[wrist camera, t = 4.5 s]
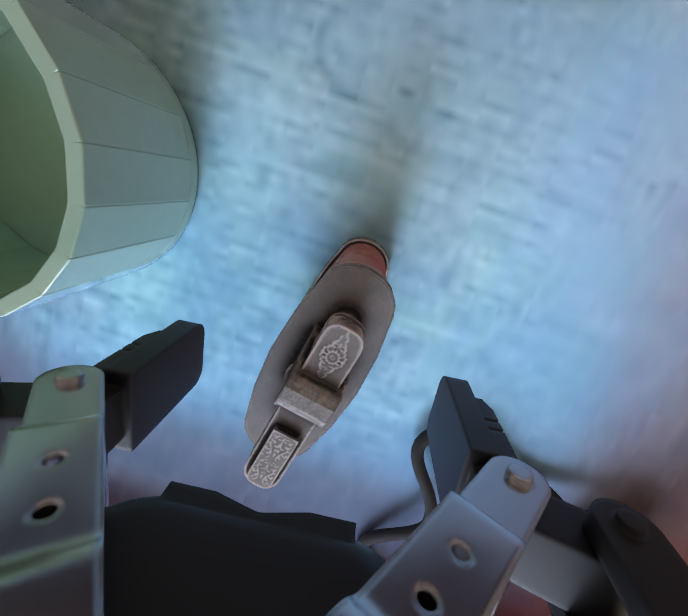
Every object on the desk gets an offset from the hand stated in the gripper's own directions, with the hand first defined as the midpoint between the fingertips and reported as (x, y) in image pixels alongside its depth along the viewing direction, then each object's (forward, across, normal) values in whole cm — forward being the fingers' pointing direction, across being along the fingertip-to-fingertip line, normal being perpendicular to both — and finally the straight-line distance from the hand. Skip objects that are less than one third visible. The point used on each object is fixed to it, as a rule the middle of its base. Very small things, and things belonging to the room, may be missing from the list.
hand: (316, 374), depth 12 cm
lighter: (+8, 0, 0) cm, 8 cm away
